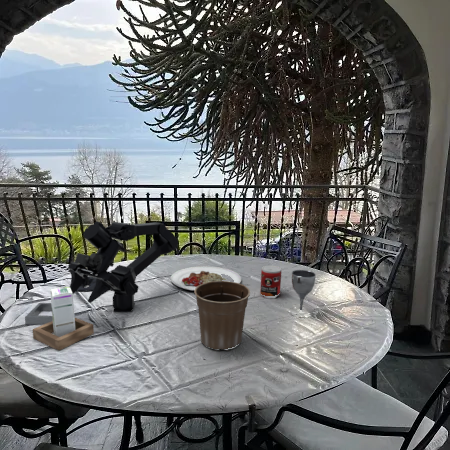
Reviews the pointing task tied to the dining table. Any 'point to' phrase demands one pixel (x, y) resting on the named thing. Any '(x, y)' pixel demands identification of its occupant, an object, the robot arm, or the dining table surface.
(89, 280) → the dark slate chunk
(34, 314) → the holder
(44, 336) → the brown wooden square frame
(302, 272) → the grey funnel
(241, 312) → the plant pot
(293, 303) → the dining table surface
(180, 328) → the dining table surface
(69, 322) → the syrup box
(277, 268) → the canned food
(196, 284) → the plated food
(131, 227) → the robot arm
